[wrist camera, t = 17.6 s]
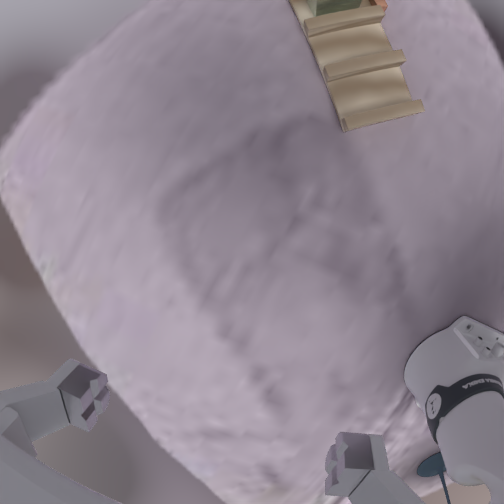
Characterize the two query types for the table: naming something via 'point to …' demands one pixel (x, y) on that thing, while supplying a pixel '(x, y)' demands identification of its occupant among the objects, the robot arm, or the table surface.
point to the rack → (358, 64)
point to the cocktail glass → (434, 469)
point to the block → (331, 6)
